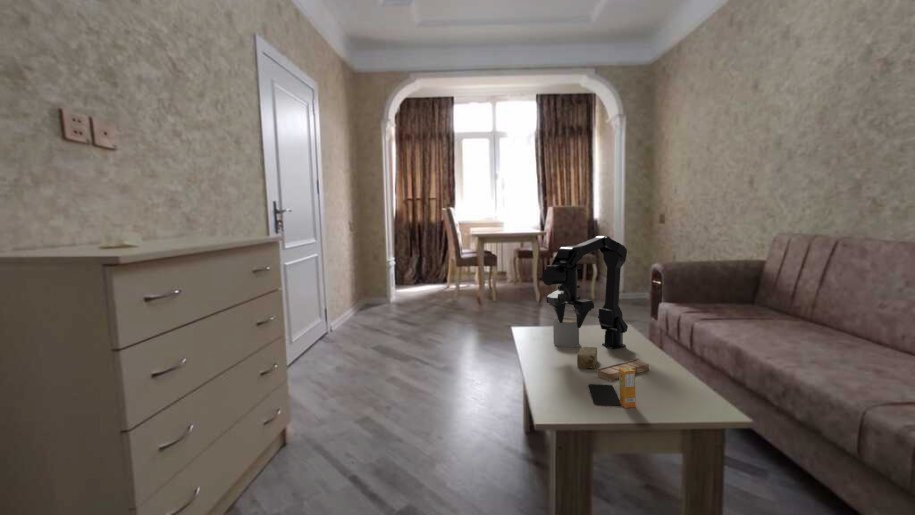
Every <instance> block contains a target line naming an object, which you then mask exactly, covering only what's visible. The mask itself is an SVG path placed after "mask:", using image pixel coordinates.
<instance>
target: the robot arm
mask: <svg viewBox="0 0 915 515" xmlns="http://www.w3.org/2000/svg"><path fill="white" fill-rule="evenodd" d="M597 250H598V251H599V252H600V253H601V254H602V257H603V258H602V259H603V262H604V264H605V266H606V278H605V279H606V280H605V296H604V305H603V306H602V307H600V308H598V317H597V319H598V323H599V325H600V329H601V330H604V333H605V334H604V343H602V344H601V345H602V346H604V347H607V348H610V349H620V348H624V347H626V346H627V344H624V341H623V340H624V337H623V336H624V334H625V333H626V332H628V328H629V326H628V324H627V323H626V322H625V320H624V319H623V312H622V310H621V308H620V306H619V305H620V304H619V301H620V285H621V272H622V271H621V269H622V267H623V265H624V264H625V263H626V260H627V254H628V250H627V248H626V247H625V245H623V244H621V243H619V242H618V241H616V240H614V239H612V237H610V236H608V235H597V236H595V237H593V238H591V239H588V240H586V241H583V242H581V243H579V244H578V243H577V244H576V245H566V246H560V247H559V248H558V250H557V253H556V255H555V257H554V259H553V261H552V263H551V265H545V269H544V270H543V272H542V275H541V279H542V282H543V284H544V285H546V286H549V287H550V286H554V285H557V290H555V291H553V292H552V293H551V292H550V293H549V294H548V295H547V296H546V303H547V304H549V306H551V307H552V308H553V309H554V311H555V315H556V316H557V317H558V320H559V322H560V323H562V322H563V318H564V317H565V310H566V305H570V306H573V312H574V313H575V315H576V316H575V318H577V328H579V329H580V328H581V327H582V325H583V323H584V321H585V319H586V317H587V315H588V314H589V312H591V311H592V310H593V309H595V302H594V301H593V300H591V299H588V298H587V299H585V298H584V299H581V296H580V295H578V289H580V288H581V285H580V284H578V270H581V269H582V266H581V265H579V263H580V262H581V261H582V260H583V259H584V256H586V255H588V254H591V253H593V252H596V251H597Z"/></svg>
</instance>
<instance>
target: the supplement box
mask: <svg viewBox="0 0 915 515" xmlns="http://www.w3.org/2000/svg"><path fill="white" fill-rule="evenodd" d="M618 379H619V400H620V404H621V405H622V407H623V408H624V409H630V408H637V404H636V403H637V402H636V401H637V399H636V395H637V394H636V374H635V370H633V369H631V368H630V367H624V368H619V378H618Z"/></svg>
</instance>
